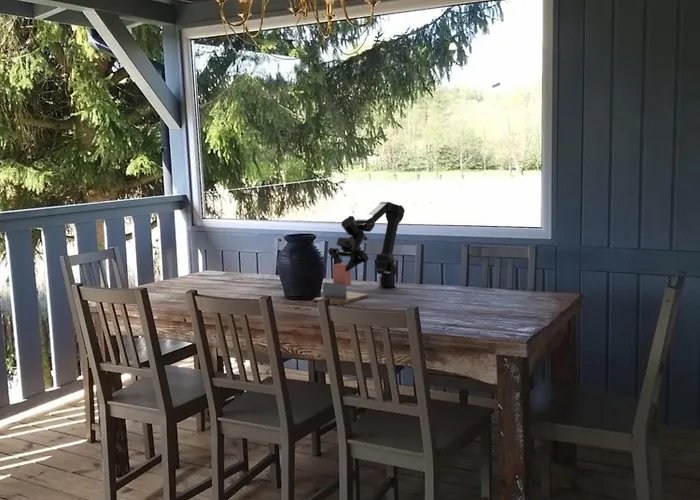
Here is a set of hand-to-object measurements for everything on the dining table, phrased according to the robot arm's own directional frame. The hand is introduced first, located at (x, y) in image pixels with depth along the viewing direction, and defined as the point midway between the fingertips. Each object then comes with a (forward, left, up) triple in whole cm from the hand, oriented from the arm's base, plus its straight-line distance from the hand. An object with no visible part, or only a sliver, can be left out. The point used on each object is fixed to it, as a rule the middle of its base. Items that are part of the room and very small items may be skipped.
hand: (339, 270), depth 301 cm
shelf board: (-1, -1, -13) cm, 13 cm away
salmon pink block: (-1, -1, -7) cm, 7 cm away
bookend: (+3, +2, -12) cm, 12 cm away
